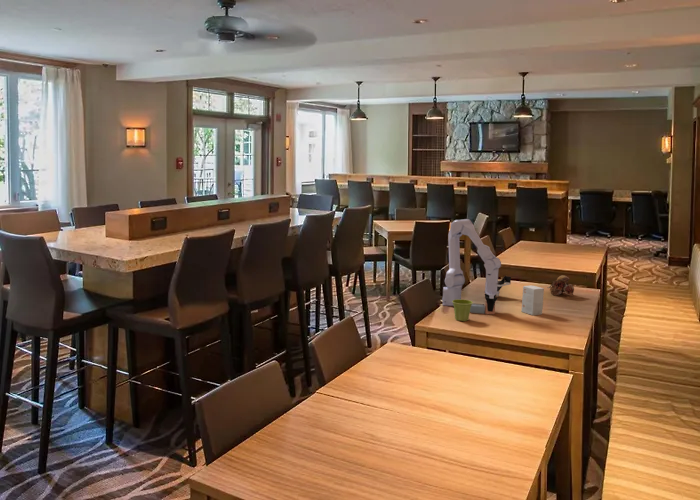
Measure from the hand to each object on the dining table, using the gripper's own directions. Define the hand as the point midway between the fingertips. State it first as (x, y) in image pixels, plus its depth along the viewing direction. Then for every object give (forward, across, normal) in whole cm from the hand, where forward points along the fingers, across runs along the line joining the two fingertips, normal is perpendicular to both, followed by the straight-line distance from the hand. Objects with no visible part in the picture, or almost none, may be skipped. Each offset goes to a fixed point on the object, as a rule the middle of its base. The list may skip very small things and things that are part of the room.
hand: (489, 309), depth 300 cm
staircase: (+2, +34, -6) cm, 35 cm away
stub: (+1, 0, 0) cm, 1 cm away
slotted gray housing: (+1, 0, +7) cm, 7 cm away
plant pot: (+2, -17, +14) cm, 22 cm away
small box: (+2, +5, -20) cm, 21 cm away
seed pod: (+2, +52, -41) cm, 66 cm away
